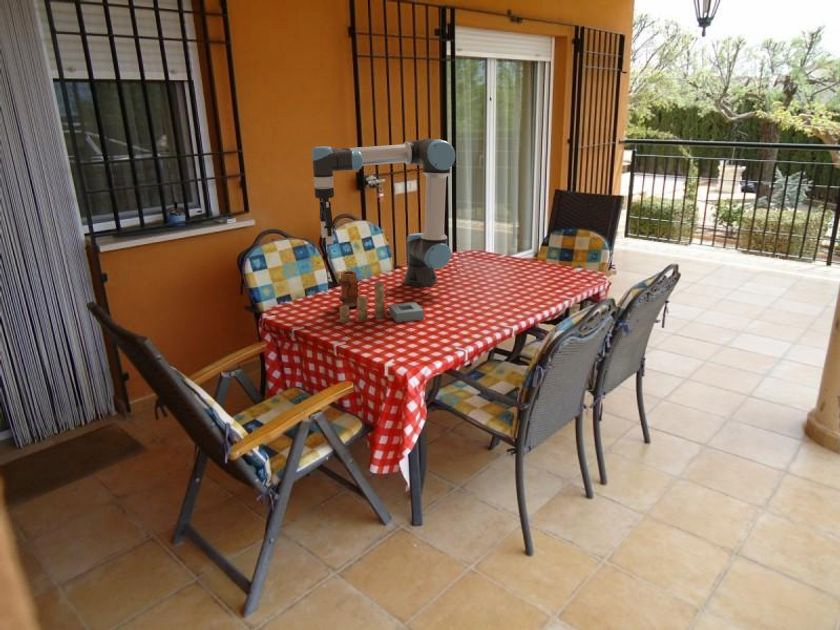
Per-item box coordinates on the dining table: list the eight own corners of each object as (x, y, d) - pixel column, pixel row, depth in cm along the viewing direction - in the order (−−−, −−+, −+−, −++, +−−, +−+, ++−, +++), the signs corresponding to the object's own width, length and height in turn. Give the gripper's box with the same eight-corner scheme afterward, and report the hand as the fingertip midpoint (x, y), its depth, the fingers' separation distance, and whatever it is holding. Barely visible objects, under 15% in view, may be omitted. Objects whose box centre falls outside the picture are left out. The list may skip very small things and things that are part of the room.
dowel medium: (366, 317, 245) (365, 295, 242) (368, 320, 241) (367, 298, 238) (357, 318, 244) (356, 296, 241) (359, 321, 240) (358, 299, 237)
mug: (337, 303, 262) (335, 268, 257) (356, 301, 265) (355, 267, 260) (346, 314, 249) (344, 277, 244) (366, 311, 252) (364, 275, 247)
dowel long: (383, 315, 247) (382, 281, 242) (385, 318, 243) (384, 283, 239) (374, 316, 246) (373, 282, 241) (377, 319, 242) (375, 284, 238)
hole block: (415, 310, 252) (415, 302, 251) (423, 319, 242) (423, 310, 241) (389, 313, 249) (388, 304, 248) (396, 322, 239) (396, 313, 238)
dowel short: (348, 319, 243) (347, 304, 241) (350, 322, 239) (349, 307, 237) (339, 320, 242) (338, 305, 240) (341, 323, 238) (340, 308, 236)
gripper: (310, 184, 255) (314, 235, 262) (318, 192, 233) (322, 247, 240) (329, 183, 257) (332, 234, 264) (338, 191, 235) (341, 246, 242)
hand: (327, 240), depth 252 cm, fingers open, 13 cm apart
